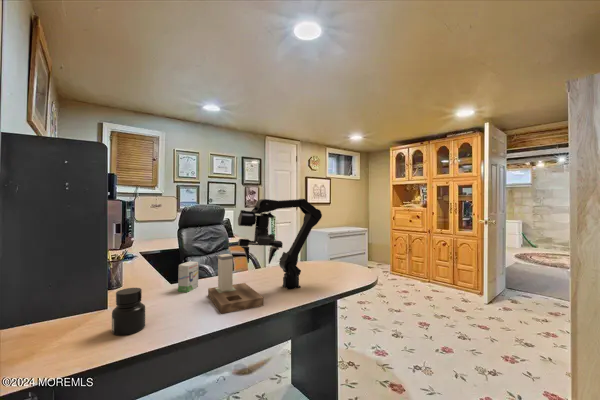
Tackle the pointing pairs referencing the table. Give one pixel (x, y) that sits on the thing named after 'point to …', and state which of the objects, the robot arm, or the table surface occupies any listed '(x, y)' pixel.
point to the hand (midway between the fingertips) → (258, 263)
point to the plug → (225, 272)
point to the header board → (235, 298)
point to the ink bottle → (128, 312)
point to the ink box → (187, 276)
